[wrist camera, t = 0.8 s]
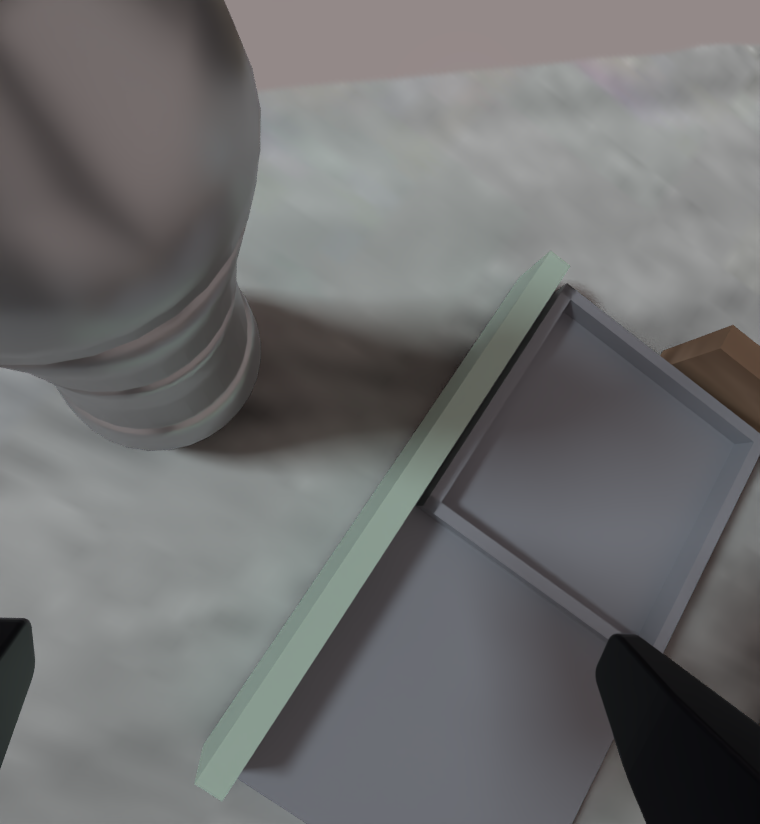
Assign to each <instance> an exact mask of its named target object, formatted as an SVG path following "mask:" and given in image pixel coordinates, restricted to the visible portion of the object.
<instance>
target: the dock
mask: <svg viewBox="0 0 760 824" xmlns="http://www.w3.org/2000/svg"><path fill="white" fill-rule="evenodd" d="M660 356H661V357H662V358H664V359H665V360H666V361H667V362H669V363H670V364H671V365H673V366H674V367H675V368H676V369H678V370H679V371H680V372H682V373H683V374H684V375H685V376H687V377H688V378H689V379H691V380H692V381H693V382H694V383H696V384H697V385H698V386H700V387H701V388H702V389H703V390H705V391H706V392H707V393H709V394H710V395H711V396H712V397H714V398H715V399H716V400H718V401H719V402H720V403H721V404H723V405H724V406H725V407H727V408H728V409H729V410H730V411H732V412H733V413H734V414H736V415H737V416H738V417H739V418H741V419H742V420H743V421H745V422H746V423H747V424H748V425H750V426H751V427H752V428H754V429H755V430H756V431H757V432H759V433H760V346H759V345H758V344H756V343H755V342H754V341H753V340H751V339H750V338H749V337H747V336H746V335H745V334H744V333H742V332H741V331H740V330H739V329H737V328H736V327H735V326H734V325H731V326H729V327H726V328H723V329H721V330H718V331H715V332H713V333H710V334H707V335H704V336H702V337H699V338H696V339H694V340H691V341H688V342H685V343H683V344H680V345H677V346H675V347H672V348H669V349H667V350H664V351H663V352H662V354H661V355H660ZM759 725H760V724H759Z"/></svg>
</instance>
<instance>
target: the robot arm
mask: <svg viewBox="0 0 760 824" xmlns="http://www.w3.org/2000/svg"><path fill="white" fill-rule="evenodd" d="M34 668H35V655H34V645H33V636H32V627H31V623H30V621H29V620H28V619H25V618H0V768H1V765H2V762H3V759H4V757H5V754H6V751H7V748H8V745H9V742H10V740H11V737H12V734H13V731H14V728H15V725H16V723H17V720H18V717H19V714H20V711H21V708H22V706H23V703H24V700H25V697H26V694H27V691H28V689H29V686H30V683H31V680H32V677H33V673H34ZM595 678H596V683H597V687H598V690H599V693H600V696H601V699H602V702H603V705H604V708H605V711H606V715H607V718H608V721H609V724H610V727H611V730H612V733H613V736H614V739H615V742H616V746H617V749H618V752H619V755H620V758H621V761H622V764H623V767H624V770H625V772H626V775H627V778H628V780H629V783H630V785H631V788H632V791H633V793H634V795H635V798H636V800H637V803H638V805H639V807H640V810H641V812H642V814H643V817H644V819H645V821H646V824H760V725H758V724H757V723H756V722H754V721H753V720H752V719H750V718H749V717H748V716H746V715H745V714H744V713H742V712H741V711H740V710H738V709H737V708H736V707H734V706H733V705H731V704H730V703H729V702H727V701H726V700H725V699H723V698H722V697H721V696H719V695H718V694H717V693H715V692H714V691H713V690H711V689H710V688H709V687H707V686H706V685H705V684H703V683H702V682H701V681H699V680H698V679H697V678H695V677H694V676H692V675H691V674H690V673H688V672H687V671H686V670H684V669H683V668H682V667H680V666H679V665H678V664H676V663H675V662H674V661H672V660H671V659H670V658H668V657H667V656H666V655H664V654H663V653H662V652H660V651H659V650H658V649H656V648H655V647H653V646H652V645H651V644H649V643H648V642H647V641H645V640H644V639H643V638H641V637H640V636H638V635H636V634H622V633H616V634H613V635H612V636H610V637H609V639H608V641H607V643H606V646H605V648H604V650H603V652H602V655H601V657H600V659H599V661H598V663H597V666H596V671H595Z"/></svg>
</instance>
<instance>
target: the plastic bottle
mask: <svg viewBox="0 0 760 824" xmlns="http://www.w3.org/2000/svg"><path fill="white" fill-rule="evenodd" d="M260 119H261V108H260V103H259V99H258V94H257V89H256V84H255V79H254V74H253V70H252V66H251V64H250V62H249V59H248V57H247V54H246V52H245V49H244V47H243V44H242V42H241V39H240V37H239V35H238V32H237V30H236V27H235V25H234V22H233V20H232V18H231V15H230V13H229V11H228V8H227V6H226V4H225V1H224V0H0V367H1V368H6V369H11V370H16V371H20V372H25V373H29V374H31V375H34V376H36V377H38V378H41V379H44V380H46V381H48V382H50V383H52V384H54V385H55V386H56V388H57V390H58V391H59V393H60V394H61V396H62V397H63V399H64V400H65V402H66V403H67V405H68V406H69V407H70V408H71V410H72V411H73V412H74V413H75V414H76V415H77V416H78V417H79V418H80V419H81V420H82V421H83V422H84V423H85V424H86V425H87V426H88V427H89V428H90V429H91V430H92V431H94V432H96V433H97V434H99V435H101V436H102V437H104V438H105V439H107V440H109V441H111V442H114V443H117V444H119V445H122V446H125V447H128V448H134V449H140V450H146V451H157V450H171V449H176V448H180V447H185V446H189V445H191V444H194V443H196V442H198V441H201V440H203V439H205V438H207V437H209V436H211V435H212V434H214V433H215V432H216V431H218V430H219V429H221V428H222V427H224V426H225V425H226V424H227V423H228V422H229V421H230V420H231V419H232V418H233V417H234V416H235V415H236V414H237V413H238V412H239V411H240V409H241V408H242V406H243V405H244V403H245V402H246V400H247V399H248V397H249V396H250V394H251V391H252V389H253V387H254V384H255V382H256V380H257V376H258V371H259V366H260V361H261V341H260V336H259V331H258V326H257V323H256V320H255V318H254V316H253V313H252V311H251V308H250V306H249V304H248V302H247V299H246V297H245V296H244V294H243V293H242V291H241V290H240V288H239V287H238V284H237V281H236V271H237V258H238V254H239V250H240V246H241V243H242V239H243V235H244V231H245V227H246V223H247V221H248V218H249V213H250V209H251V204H252V200H253V196H254V191H255V187H256V182H257V171H258V162H259V155H260Z"/></svg>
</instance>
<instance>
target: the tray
mask: <svg viewBox="0 0 760 824" xmlns="http://www.w3.org/2000/svg"><path fill="white" fill-rule="evenodd" d="M569 268H570V265H568V264H567V263H566V262H564V261H563V260H562V259H561V258H559V257H558V256H557V255H555V254H554V253H553V252H552V251H550V252H548V253H547V254H546V255H545V256H544V257H543V258H541V259H540V260H539V261H538V262H537V263H536V264H534V265H533V266H532V267H531V268H530V269H529V270H527V271H526V272H525V273H524V274H523V275H522V276H520V277H519V279H518V280H517V282H516V283H515V285H514V286H513V287H512V289H511V290H510V292H509V293H508V295H507V296H506V298H505V299H504V301H503V302H502V304H501V305H500V307H499V308H498V310H497V311H496V313H495V314H494V316H493V317H492V319H491V320H490V322H489V323H488V324H487V326H486V327H485V329H484V330H483V332H482V333H481V335H480V336H479V338H478V339H477V341H476V342H475V344H474V345H473V347H472V348H471V350H470V351H469V353H468V354H467V356H466V357H465V358H464V360H463V361H462V363H461V364H460V366H459V367H458V369H457V370H456V372H455V373H454V375H453V376H452V378H451V379H450V381H449V382H448V384H447V385H446V387H445V388H444V390H443V391H442V393H441V394H440V395H439V397H438V398H437V400H436V401H435V403H434V404H433V406H432V407H431V409H430V410H429V412H428V413H427V415H426V416H425V418H424V419H423V421H422V422H421V424H420V425H419V427H418V428H417V430H416V431H415V432H414V434H413V435H412V437H411V438H410V440H409V441H408V443H407V444H406V446H405V447H404V449H403V450H402V452H401V453H400V455H399V456H398V458H397V459H396V461H395V462H394V464H393V465H392V467H391V468H390V469H389V471H388V472H387V474H386V475H385V477H384V478H383V480H382V481H381V483H380V484H379V486H378V487H377V489H376V490H375V492H374V493H373V495H372V496H371V498H370V499H369V501H368V502H367V504H366V505H365V506H364V508H363V509H362V511H361V512H360V514H359V515H358V517H357V518H356V520H355V521H354V523H353V524H352V526H351V527H350V529H349V530H348V532H347V533H346V535H345V536H344V538H343V539H342V541H341V542H340V543H339V545H338V546H337V548H336V549H335V551H334V552H333V554H332V555H331V557H330V558H329V560H328V561H327V563H326V564H325V566H324V567H323V569H322V570H321V572H320V573H319V575H318V576H317V578H316V579H315V580H314V582H313V583H312V585H311V586H310V588H309V589H308V591H307V592H306V594H305V595H304V597H303V598H302V600H301V601H300V603H299V604H298V606H297V607H296V609H295V610H294V612H293V613H292V615H291V616H290V617H289V619H288V620H287V622H286V623H285V625H284V626H283V628H282V629H281V631H280V632H279V634H278V635H277V637H276V638H275V640H274V641H273V643H272V644H271V646H270V647H269V649H268V650H267V652H266V653H265V654H264V656H263V657H262V659H261V660H260V662H259V663H258V665H257V666H256V668H255V669H254V671H253V672H252V674H251V675H250V677H249V678H248V680H247V681H246V683H245V684H244V686H243V687H242V689H241V690H240V691H239V693H238V694H237V696H236V697H235V699H234V700H233V702H232V703H231V705H230V706H229V708H228V709H227V711H226V712H225V714H224V715H223V717H222V718H221V720H220V721H219V723H218V724H217V725H216V727H215V728H214V730H213V731H212V733H211V734H210V736H209V737H208V739H207V740H206V742H205V743H204V745H203V749H202V753H201V758H200V762H199V766H198V770H197V775H196V779H195V783H194V784H195V785H197V786H198V787H200V788H201V789H203V790H205V791H206V792H208V793H209V794H211V795H212V796H214V797H215V798H217V799H218V800H220V801H223V799H224V798H225V796H226V795H227V793H228V792H229V790H230V789H231V787H232V786H233V784H234V783H235V781H236V779H239V780H240V781H242V782H244V783H245V784H247V785H248V786H250V787H251V788H253V789H254V790H256V791H257V792H259V793H260V794H262V795H263V796H265V797H267V798H268V799H270V800H271V801H273V802H274V803H276V804H277V805H279V806H280V807H282V808H283V809H285V810H286V811H288V812H290V813H291V814H293V815H294V816H296V817H297V818H299V819H300V820H302V821H303V822H305V823H306V824H572V823H573V821H574V819H575V817H576V814H577V812H578V810H579V808H580V806H581V804H582V802H583V800H584V798H585V796H586V794H587V792H588V790H589V788H590V786H591V784H592V782H593V780H594V778H595V776H596V774H597V772H598V770H599V768H600V766H601V764H602V762H603V759H604V757H605V755H606V753H607V751H608V749H609V747H610V745H611V743H612V741H613V739H614V736H613V733H612V730H611V727H610V724H609V721H608V718H607V715H606V711H605V708H604V705H603V702H602V699H601V696H600V693H599V690H598V687H597V683H596V678H595V671H596V666H597V663H598V661H599V659H600V657H601V655H602V652H603V650H604V648H605V646H606V643H607V641H608V639H609V637H610V636H612V635H613V634H616V633H622V634H636V635H638V636H640V637H641V638H643V639H644V640H645V641H647V642H648V643H649V644H651V645H652V646H653V647H655V648H656V649H658V650H659V651H660V652H662V653H663V652H664V650H665V648H666V646H667V644H668V642H669V640H670V638H671V636H672V634H673V632H674V630H675V628H676V626H677V624H678V622H679V620H680V617H681V615H682V613H683V611H684V609H685V607H686V605H687V603H688V601H689V599H690V597H691V595H692V593H693V591H694V589H695V587H696V585H697V583H698V581H699V579H700V576H701V574H702V572H703V570H704V568H705V566H706V564H707V562H708V560H709V558H710V556H711V554H712V552H713V550H714V548H715V546H716V544H717V542H718V540H719V537H720V535H721V533H722V531H723V529H724V527H725V525H726V523H727V521H728V519H729V517H730V515H731V513H732V511H733V509H734V507H735V505H736V503H737V501H738V499H739V496H740V494H741V492H742V490H743V488H744V486H745V484H746V482H747V480H748V478H749V476H750V474H751V472H752V470H753V468H754V466H755V464H756V462H757V460H758V457H759V455H760V433H759V432H757V431H756V430H755V429H754V428H752V427H751V426H750V425H748V424H747V423H746V422H745V421H743V420H742V419H741V418H739V417H738V416H737V415H736V414H734V413H733V412H732V411H730V410H729V409H728V408H727V407H725V406H724V405H723V404H721V403H720V402H719V401H718V400H716V399H715V398H714V397H712V396H711V395H710V394H709V393H707V392H706V391H705V390H703V389H702V388H701V387H700V386H698V385H697V384H696V383H694V382H693V381H692V380H691V379H689V378H688V377H687V376H685V375H684V374H683V373H682V372H680V371H679V370H678V369H676V368H675V367H674V366H673V365H671V364H670V363H669V362H667V361H666V360H665V359H664V358H662V357H661V356H660V355H659V354H657V353H656V352H655V351H653V350H652V349H651V348H650V347H648V346H647V345H646V344H644V343H643V342H642V341H641V340H639V339H638V338H637V337H635V336H634V335H633V334H632V333H630V332H629V331H628V330H626V329H625V328H624V327H623V326H621V325H620V324H619V323H617V322H616V321H615V320H614V319H612V318H611V317H610V316H608V315H607V314H606V313H605V312H603V311H602V310H601V309H599V308H598V307H597V306H596V305H594V304H593V303H592V302H590V301H589V300H588V299H587V298H585V297H584V296H583V295H581V294H580V293H579V292H578V291H576V290H575V289H574V288H572V287H571V286H570V285H569V284H565V285H564V286H562V287H561V288H560V289H558V290H557V291H555V289H556V288H557V286H558V284H559V283H560V281H561V280H562V278H563V277H564V275H565V274H566V272H567V271H568V269H569ZM554 291H555V292H554Z"/></svg>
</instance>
